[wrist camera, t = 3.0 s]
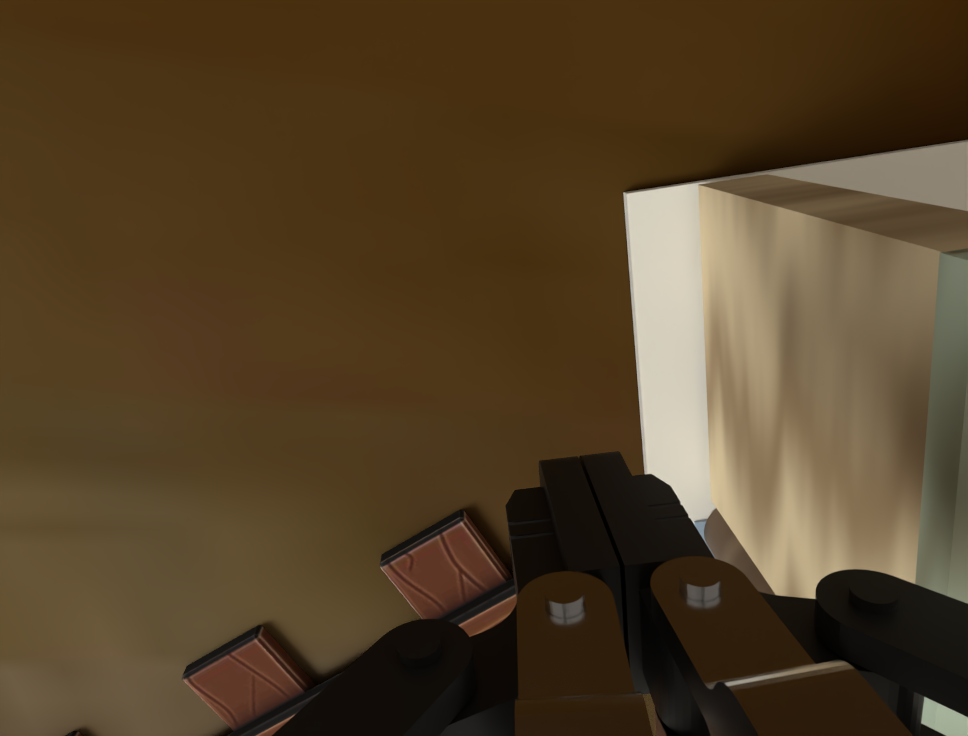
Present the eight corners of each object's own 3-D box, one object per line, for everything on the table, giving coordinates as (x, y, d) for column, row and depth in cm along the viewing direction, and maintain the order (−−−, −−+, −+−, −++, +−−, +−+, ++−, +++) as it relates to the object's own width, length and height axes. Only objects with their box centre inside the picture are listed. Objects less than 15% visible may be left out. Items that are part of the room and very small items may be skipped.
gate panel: (771, 490, 24) (1038, 803, 13) (709, 500, 24) (926, 820, 13) (768, 174, 21) (1132, 239, 10) (696, 184, 21) (978, 263, 10)
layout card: (623, 192, 21) (627, 194, 21) (1120, 116, 21) (1135, 116, 21) (668, 780, 29) (671, 791, 29) (1028, 727, 29) (1037, 737, 29)
